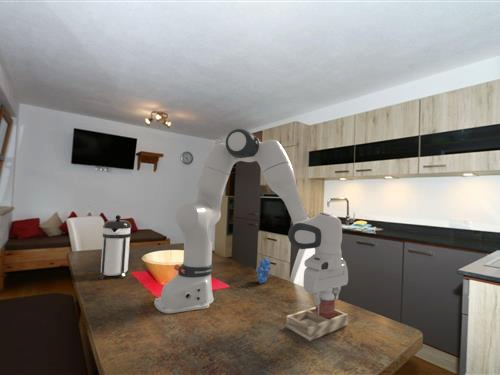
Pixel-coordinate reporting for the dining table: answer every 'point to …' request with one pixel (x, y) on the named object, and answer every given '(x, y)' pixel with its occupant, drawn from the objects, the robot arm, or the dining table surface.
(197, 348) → the dining table surface
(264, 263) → the grapes
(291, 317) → the tray
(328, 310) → the pill bottle
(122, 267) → the coffee press
